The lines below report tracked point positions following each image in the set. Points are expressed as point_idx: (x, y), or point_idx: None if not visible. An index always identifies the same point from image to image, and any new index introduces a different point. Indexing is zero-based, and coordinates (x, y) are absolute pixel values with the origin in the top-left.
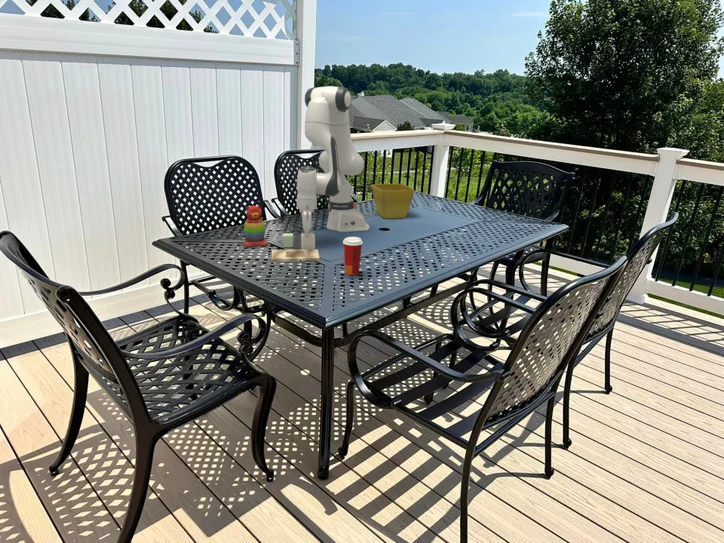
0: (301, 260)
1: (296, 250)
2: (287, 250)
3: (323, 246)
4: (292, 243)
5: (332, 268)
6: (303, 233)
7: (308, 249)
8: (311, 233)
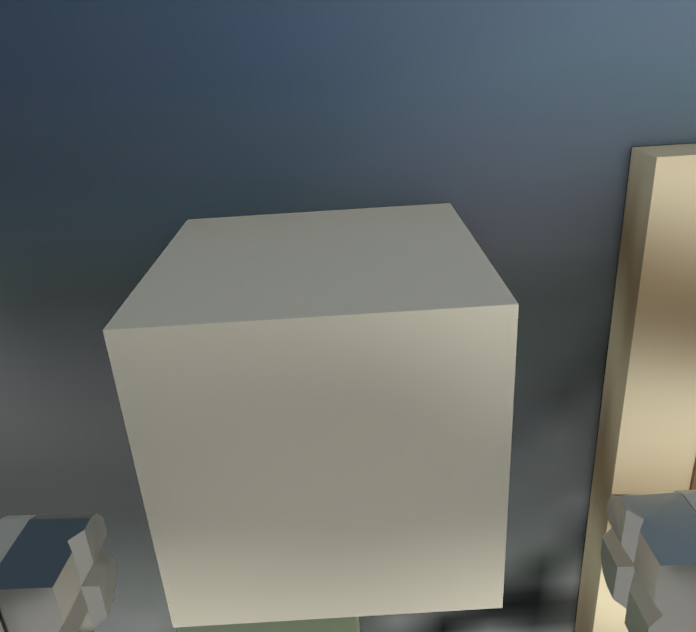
0: None
1: None
2: None
3: (254, 13)
4: None
5: None
6: (206, 582)
7: (635, 337)
8: (173, 404)
